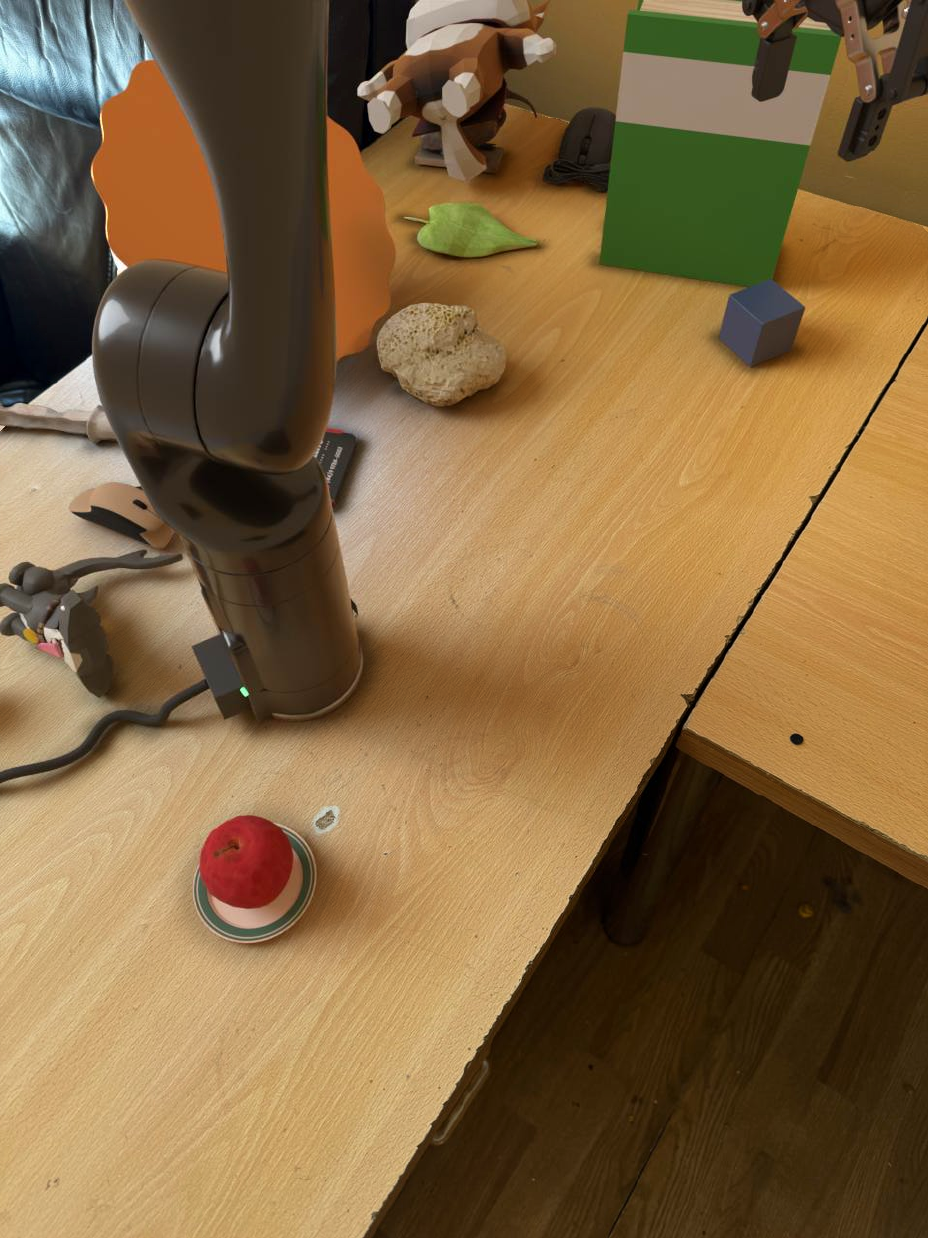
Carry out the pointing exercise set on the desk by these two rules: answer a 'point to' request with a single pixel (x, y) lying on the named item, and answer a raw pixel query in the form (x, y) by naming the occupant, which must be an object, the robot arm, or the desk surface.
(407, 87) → the toy
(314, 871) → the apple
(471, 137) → the figurine
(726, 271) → the hardback book
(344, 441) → the black flat block
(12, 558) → the desk surface
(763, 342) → the cube
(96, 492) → the computer mouse
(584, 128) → the computer mouse
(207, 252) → the orange scalloped disc
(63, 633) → the toy monster
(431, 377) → the decorative item
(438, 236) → the leaf
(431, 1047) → the desk surface
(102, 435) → the carved wooden stick
